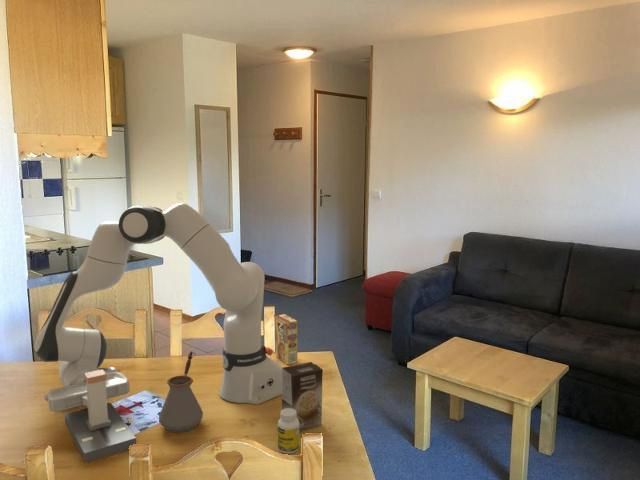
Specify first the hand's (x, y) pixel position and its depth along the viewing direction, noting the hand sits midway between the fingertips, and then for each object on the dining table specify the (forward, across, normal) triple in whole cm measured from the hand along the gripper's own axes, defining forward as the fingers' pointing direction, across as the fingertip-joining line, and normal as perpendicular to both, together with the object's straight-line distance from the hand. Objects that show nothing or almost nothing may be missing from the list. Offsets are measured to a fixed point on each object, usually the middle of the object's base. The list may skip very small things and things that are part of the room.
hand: (96, 403), depth 141 cm
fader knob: (+2, 0, +5) cm, 5 cm away
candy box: (-13, +66, +8) cm, 68 cm away
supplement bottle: (+34, +37, +8) cm, 51 cm away
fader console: (+1, 0, +8) cm, 8 cm away
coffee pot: (+5, +22, +8) cm, 24 cm away
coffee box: (+27, +46, +8) cm, 54 cm away
